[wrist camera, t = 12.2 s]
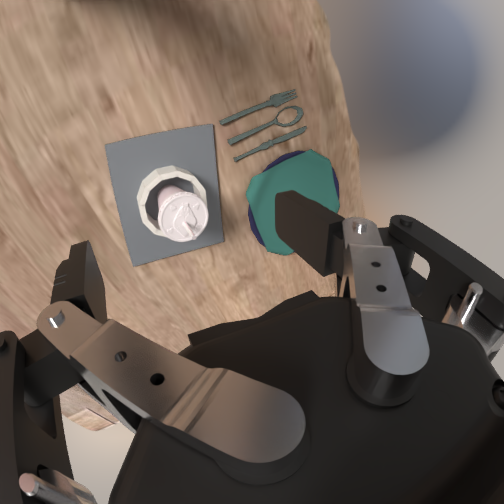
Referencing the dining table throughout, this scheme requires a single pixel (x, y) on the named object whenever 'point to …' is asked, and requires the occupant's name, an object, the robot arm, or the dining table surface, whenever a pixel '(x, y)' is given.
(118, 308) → the dining table surface
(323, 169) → the cutlery set
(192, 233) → the smoothie
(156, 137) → the sleeve stand
